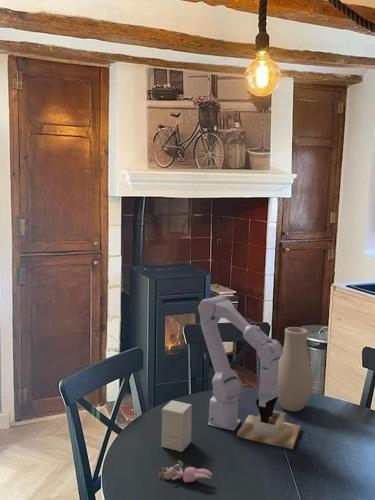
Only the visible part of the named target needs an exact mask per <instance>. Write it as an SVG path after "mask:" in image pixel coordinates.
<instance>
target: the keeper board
mask: <svg viewBox="0 0 375 500" xmlns="http://www.w3.org/2000/svg"><path fill="white" fill-rule="evenodd" d="M257 417H258V415H252V414H248V416H247V417H246V418H245V421H244V422H243V423H242V425H241V427H239V429H238V431H237V434H236V436H237V438H242V439H246V440H251V441H255V442H259V443H264V444H267V445H272V446H277V447H281V448H285V449H289V450H293V449H294V446H295V444H296V442H297V439H298V437H299V434H300V433H301V430H302V429H301V426H302V425H300V424H296V423H290V422H287V421H286V422H285V426H284V428H283V430H282V432H281V434H280V436H279V438H278V440H275V439H270V438H266V437H262V436H257V435H253V425H254V421H255V420H256V418H257ZM267 424H271V425H275V424H273V418H272V417H270V418H269V421H268V423H267Z"/></svg>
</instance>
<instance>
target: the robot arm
mask: <svg viewBox="0 0 375 500" xmlns="http://www.w3.org/2000/svg"><path fill="white" fill-rule="evenodd" d="M197 310H198V314H199V316H200V317H199V318H200V320H199V322H200V327H201V330H202V334H203V337H204V340H205V343H206V347H207V350H208V353H209V357H210V360H211V363H212V366H213V367H212V368H213V369H214V370H213V371H214V376H213V378H212V380H211V384H212V394H213V395H212V396H211V398H210V401H209V405H208V422H207V425H208V426H212V427H216V428H221V429H225V430H228V431H229V430H230V431H235V430H236V429H237V427H238V426H239V424H240V423H241V421H242V420H241V419H240V418H238V409H239V398H240V395H241V394H242V393H243V391H244V385H243V382H242V380H241V378H239V376H238V373H237V372H236V371H235V370H233V369H232V368H231V365H230V362H229V359H228V356H227V353H226V352H227V351H226V350H225V349H226V348H225V346H224V343H223V340H222V336H221V333H220V329H219V326H218V324H219V322H220V320H221V319H226V320H228V322H230V323H231V324H233V326H234V327H235V328H237V329H238V330H239V331H241V332H242V335H243V336H242V338H243V339H244V340H245V341H246V342H247V343H248V344H249V345H250V346H251V347H252V348H253V349H254V350H256V352H257V353H256V354H257V357H258V358H259V364H260V367H259V384H258V392H257V394H258V398H257V399H256V400H255V405H256V407H257V409H258V414H260V418H261V422H263V423H268V421H269V418H270V417H271V416H272V413H273V410H275V406H276V403H277V401H278V397H280V396H281V393H278V392H277V385H278V369H279V359H280V357H281V356H282V354H283V347H284V346H283V345H282V344H281V342H280V340H277V339H272V338H271V337H270V336H268V335H267V334H266V333H265V332H264V331H263V330H261V327H260V326H258V325H256V324H250V323H249V322H248V321H247V320H246V318H244V316H243V315H242V314H241V313H240V312H239V311H238V310H237V309H236V308H235V307H234V306H233V302H232V301H231V300H230V299H228V297H227V296H226V295H223V294H220V295H218V296H212V297H210V298H203V299H202V300H201V301H200V303H199V305H198V307H197Z"/></svg>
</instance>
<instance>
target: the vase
mask: <svg viewBox="0 0 375 500" xmlns="http://www.w3.org/2000/svg"><path fill="white" fill-rule="evenodd" d="M308 331H309V330H307V329H306V328H303V327H298V326H289V327H286V328H285V329H284V342H283V346H282V347H283V354H282V356H281V357H279V369H278V385H277V392H278V393H281V396H280V397H278V399H277V401H278V403H279V405H280V407H281V408H282V409H283V410H285V411H288V412H300V411H301V410H303V408H304V407H306V405H307V404H308V401H309V399H310V397H311V394H312V390H313V384H314V383H313V371H312V368H311V363H310V358H309V354H308V348H307V347H308V346H307V345H308V341H307V340H308V333H309V332H308Z"/></svg>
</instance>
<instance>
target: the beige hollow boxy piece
mask: <svg viewBox="0 0 375 500" xmlns="http://www.w3.org/2000/svg"><path fill="white" fill-rule="evenodd" d="M257 416H258V417H257V418H256V420H255V421H254V425H253V435H257V436H262V437H266V438H270V439H275V440H278V438H279V436H280V434H281V432H282V430H283V428H284V426H285V422H286V423H287V421H286V418H287V412H283V411H279V410H275V409H274V410H273V413H272V416H271V417H272V418H273V424H275V425H271V424H267V423H263V422H261V418H260V413H258V415H257Z"/></svg>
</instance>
